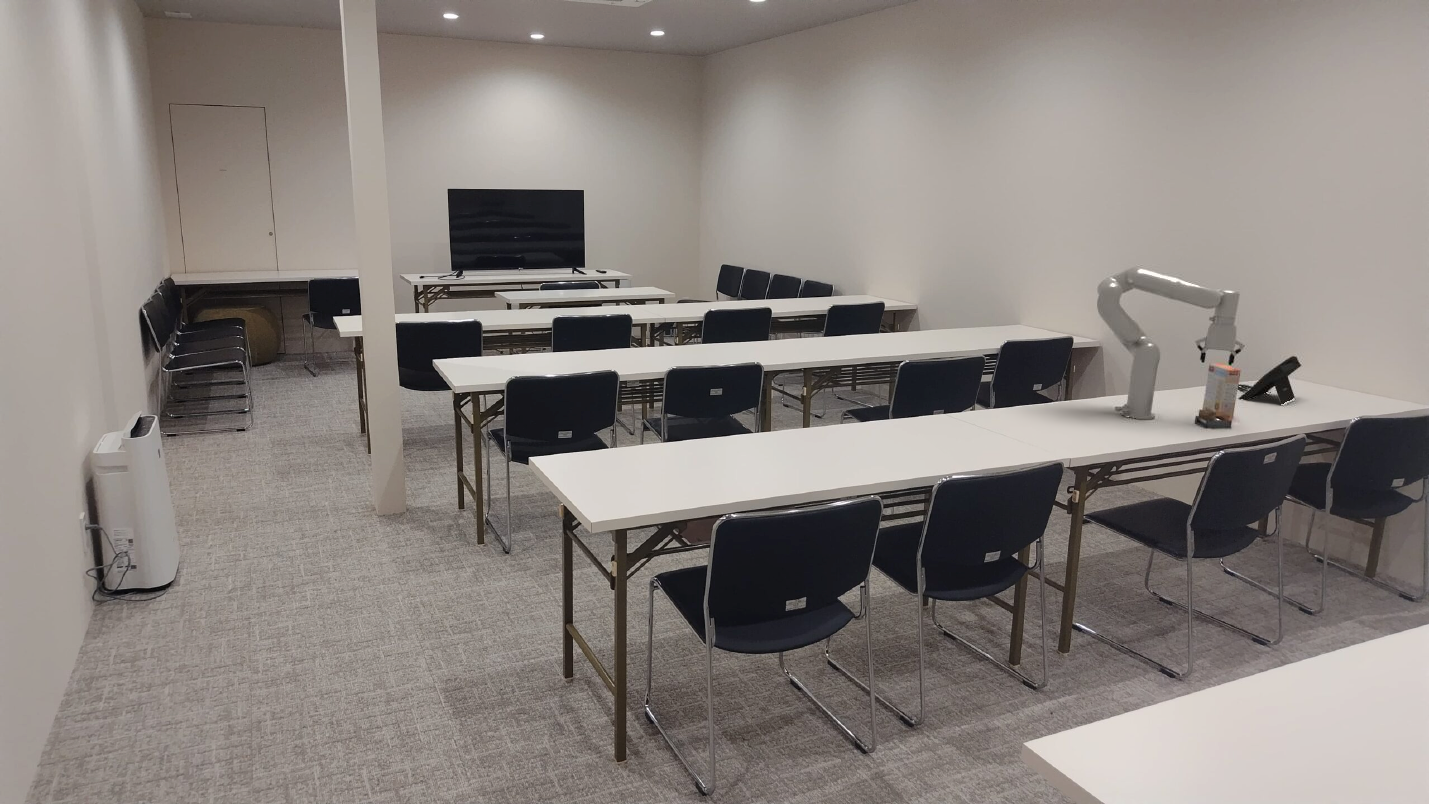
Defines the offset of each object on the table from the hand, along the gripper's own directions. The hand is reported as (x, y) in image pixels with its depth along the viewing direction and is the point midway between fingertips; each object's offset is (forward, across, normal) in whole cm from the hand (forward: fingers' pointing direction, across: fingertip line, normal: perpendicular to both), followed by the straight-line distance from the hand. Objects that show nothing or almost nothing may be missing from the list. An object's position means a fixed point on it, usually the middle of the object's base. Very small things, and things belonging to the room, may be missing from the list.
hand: (1216, 363), depth 357 cm
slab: (+21, -1, -8) cm, 22 cm away
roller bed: (+24, +2, -7) cm, 25 cm away
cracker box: (+24, +6, +14) cm, 28 cm away
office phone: (+24, +29, +62) cm, 72 cm away
